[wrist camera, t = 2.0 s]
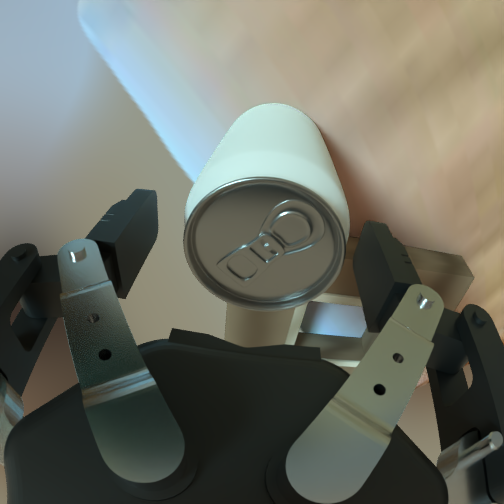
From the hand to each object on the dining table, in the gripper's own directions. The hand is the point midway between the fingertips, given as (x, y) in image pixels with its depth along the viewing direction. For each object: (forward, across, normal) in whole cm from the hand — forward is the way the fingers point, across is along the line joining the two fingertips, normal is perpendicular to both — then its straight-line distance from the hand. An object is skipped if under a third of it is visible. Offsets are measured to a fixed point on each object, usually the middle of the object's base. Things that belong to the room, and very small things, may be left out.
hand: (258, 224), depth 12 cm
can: (+11, 0, 0) cm, 11 cm away
